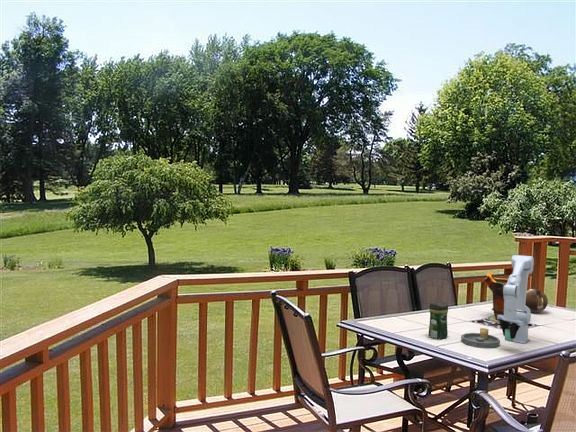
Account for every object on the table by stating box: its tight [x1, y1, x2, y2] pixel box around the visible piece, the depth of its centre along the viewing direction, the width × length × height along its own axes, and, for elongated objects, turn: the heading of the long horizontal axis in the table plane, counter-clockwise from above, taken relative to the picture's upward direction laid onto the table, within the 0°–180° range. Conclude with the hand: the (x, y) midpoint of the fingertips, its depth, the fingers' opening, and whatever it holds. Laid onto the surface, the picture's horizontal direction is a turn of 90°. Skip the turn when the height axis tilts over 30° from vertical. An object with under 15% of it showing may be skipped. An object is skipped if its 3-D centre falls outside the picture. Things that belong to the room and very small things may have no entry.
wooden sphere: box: [525, 288, 549, 314], centre depth 340 cm, size 15×15×15 cm
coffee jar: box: [428, 300, 449, 340], centre depth 278 cm, size 10×8×19 cm
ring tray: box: [460, 332, 501, 349], centre depth 269 cm, size 18×18×2 cm
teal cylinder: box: [504, 328, 514, 342], centre depth 257 cm, size 4×4×5 cm
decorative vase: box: [483, 271, 509, 323], centre depth 318 cm, size 21×23×28 cm
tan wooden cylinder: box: [479, 327, 489, 340], centre depth 273 cm, size 4×4×5 cm
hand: (509, 337), depth 257 cm, fingers closed on teal cylinder, 4 cm apart
